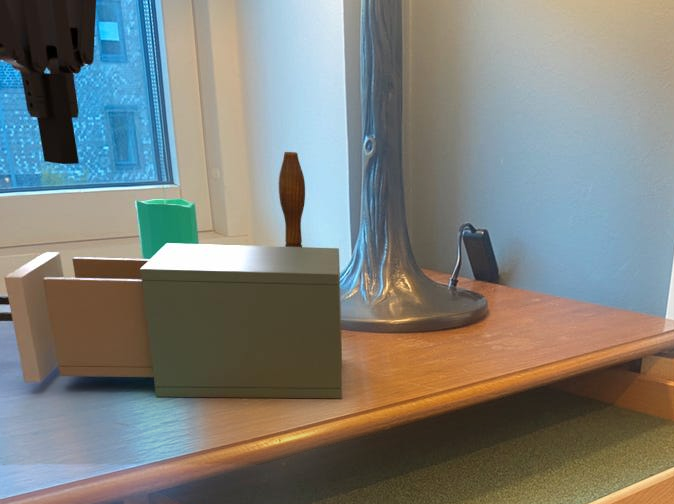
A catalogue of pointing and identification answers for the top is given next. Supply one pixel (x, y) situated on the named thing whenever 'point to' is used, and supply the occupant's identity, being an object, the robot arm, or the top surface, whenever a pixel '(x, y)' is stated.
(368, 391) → the top surface
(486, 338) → the top surface
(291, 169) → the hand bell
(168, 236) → the candle
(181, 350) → the cabinet
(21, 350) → the drawer
